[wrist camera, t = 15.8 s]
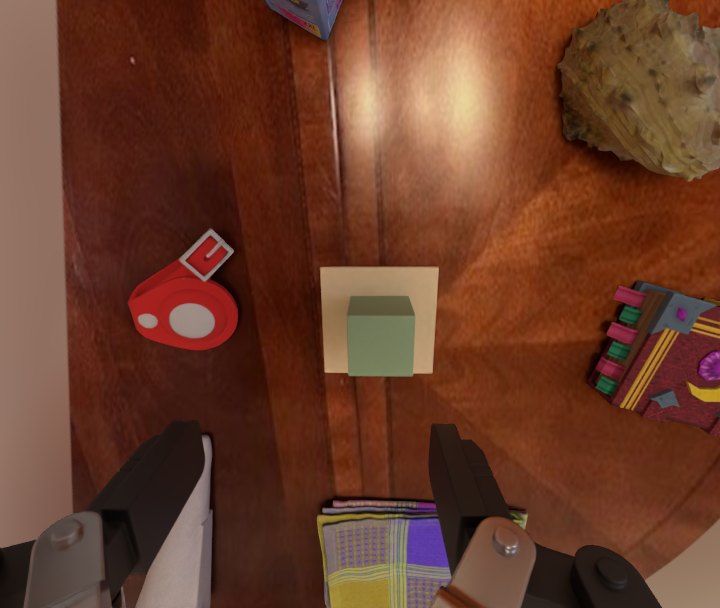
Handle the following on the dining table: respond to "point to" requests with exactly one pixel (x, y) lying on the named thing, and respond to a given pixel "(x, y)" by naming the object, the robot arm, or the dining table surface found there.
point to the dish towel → (384, 553)
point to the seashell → (645, 88)
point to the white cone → (185, 553)
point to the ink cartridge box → (309, 14)
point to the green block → (380, 336)
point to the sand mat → (377, 282)
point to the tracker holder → (187, 299)
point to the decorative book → (663, 357)
